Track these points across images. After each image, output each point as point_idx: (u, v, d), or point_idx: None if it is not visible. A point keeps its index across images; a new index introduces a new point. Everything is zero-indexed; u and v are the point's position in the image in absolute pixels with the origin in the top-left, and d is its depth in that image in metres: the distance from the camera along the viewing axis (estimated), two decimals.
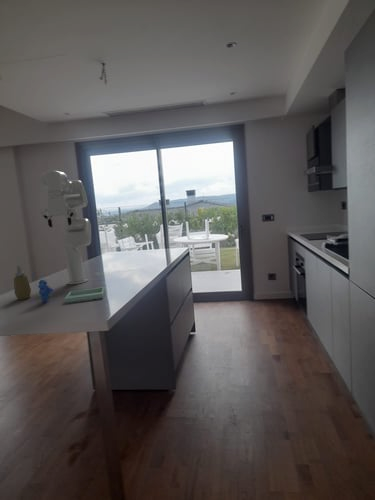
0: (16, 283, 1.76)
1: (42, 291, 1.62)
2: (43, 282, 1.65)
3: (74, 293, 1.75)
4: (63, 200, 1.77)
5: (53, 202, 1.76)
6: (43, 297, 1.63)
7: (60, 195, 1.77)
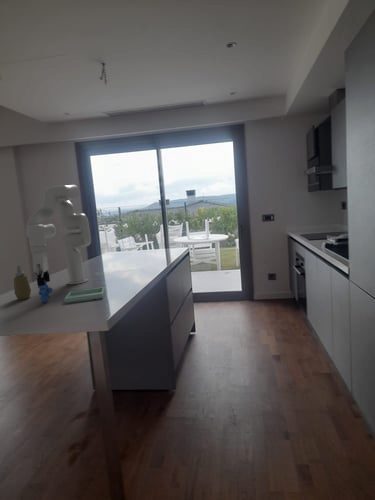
0: (16, 283, 1.76)
1: (42, 292, 1.61)
2: None
3: (74, 293, 1.75)
4: (46, 255, 1.68)
5: (45, 258, 1.63)
6: (43, 297, 1.63)
7: None
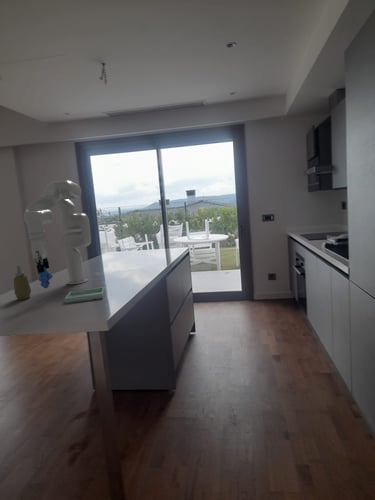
0: (16, 283, 1.76)
1: (42, 278, 1.63)
2: None
3: (74, 293, 1.75)
4: None
5: (43, 244, 1.63)
6: (43, 284, 1.65)
7: None
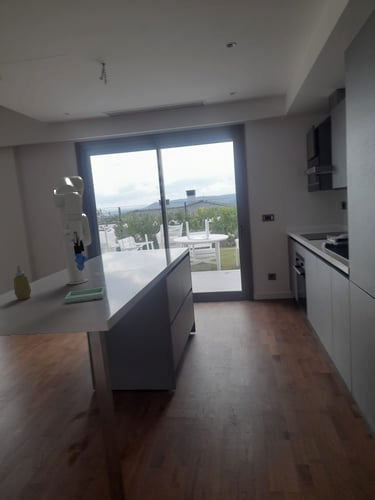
0: (16, 283, 1.76)
1: (79, 260, 1.63)
2: None
3: (74, 293, 1.75)
4: None
5: (80, 226, 1.64)
6: (79, 266, 1.64)
7: None
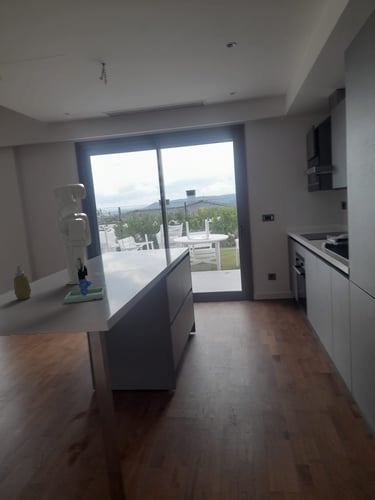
0: (16, 283, 1.76)
1: (82, 285, 1.65)
2: None
3: (74, 293, 1.75)
4: None
5: (84, 251, 1.66)
6: (83, 291, 1.66)
7: None
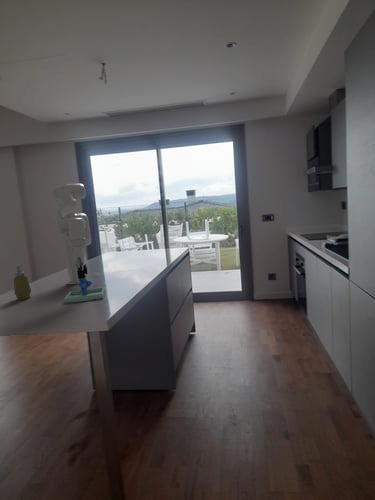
0: (16, 283, 1.76)
1: (83, 284, 1.65)
2: None
3: (74, 293, 1.75)
4: None
5: (84, 251, 1.66)
6: (83, 290, 1.67)
7: None
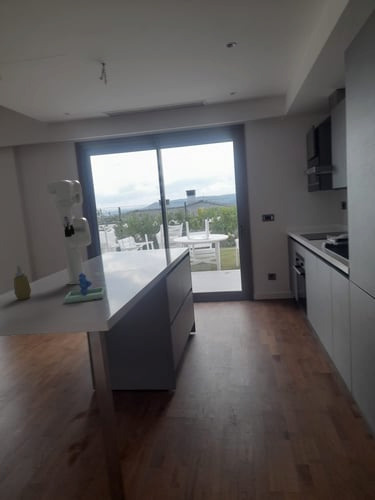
0: (16, 283, 1.76)
1: (83, 284, 1.65)
2: (83, 276, 1.68)
3: (74, 293, 1.75)
4: None
5: (71, 211, 1.77)
6: (83, 290, 1.67)
7: None
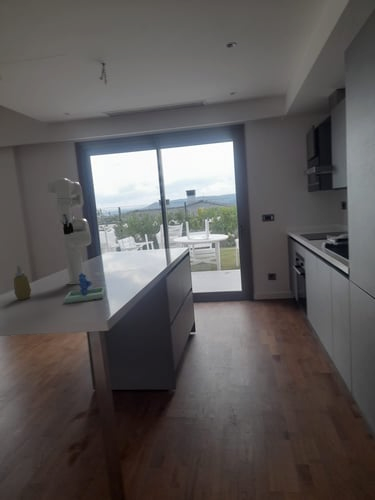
0: (16, 283, 1.76)
1: (83, 284, 1.65)
2: (83, 276, 1.68)
3: (74, 293, 1.75)
4: None
5: (69, 209, 1.78)
6: (83, 290, 1.67)
7: None
